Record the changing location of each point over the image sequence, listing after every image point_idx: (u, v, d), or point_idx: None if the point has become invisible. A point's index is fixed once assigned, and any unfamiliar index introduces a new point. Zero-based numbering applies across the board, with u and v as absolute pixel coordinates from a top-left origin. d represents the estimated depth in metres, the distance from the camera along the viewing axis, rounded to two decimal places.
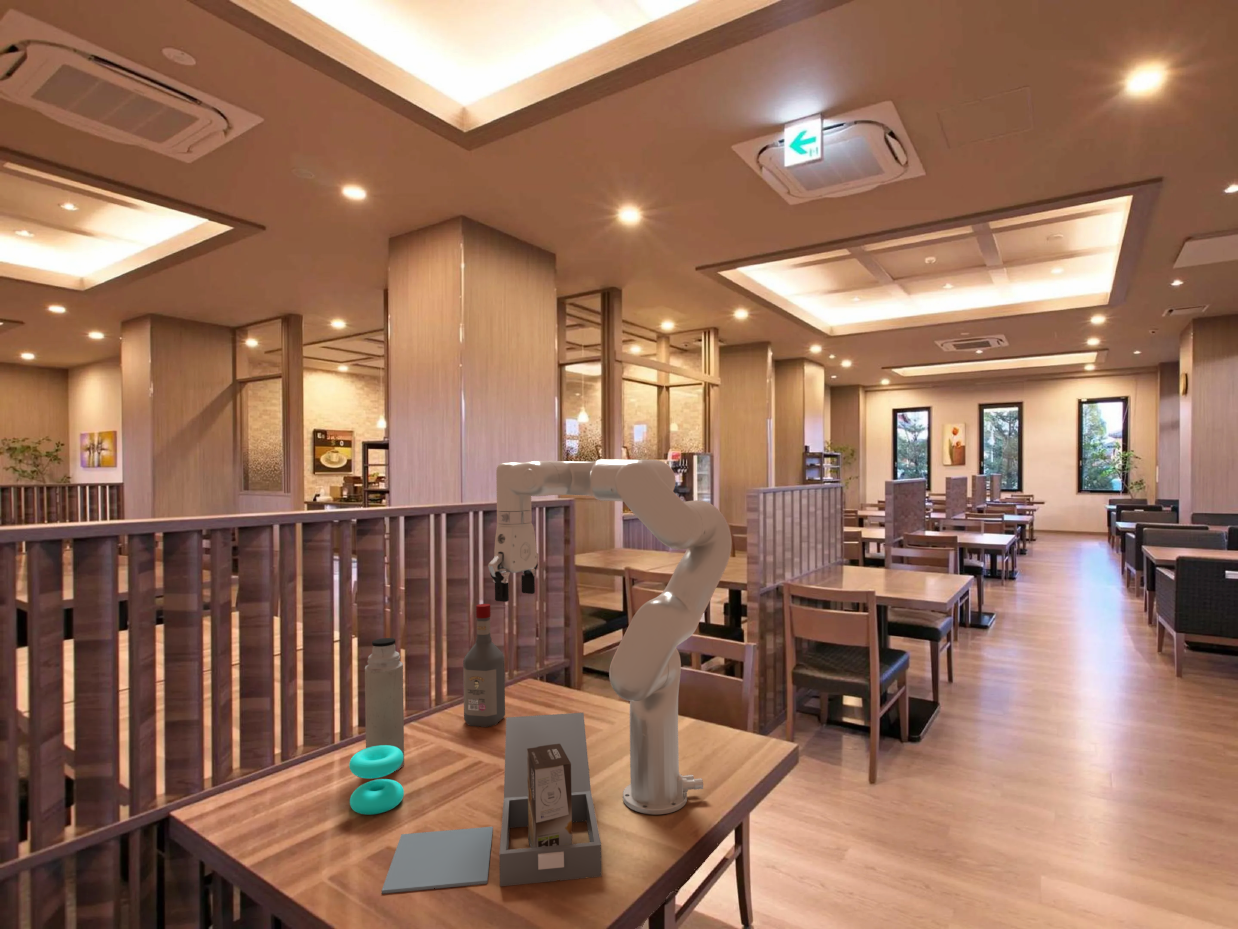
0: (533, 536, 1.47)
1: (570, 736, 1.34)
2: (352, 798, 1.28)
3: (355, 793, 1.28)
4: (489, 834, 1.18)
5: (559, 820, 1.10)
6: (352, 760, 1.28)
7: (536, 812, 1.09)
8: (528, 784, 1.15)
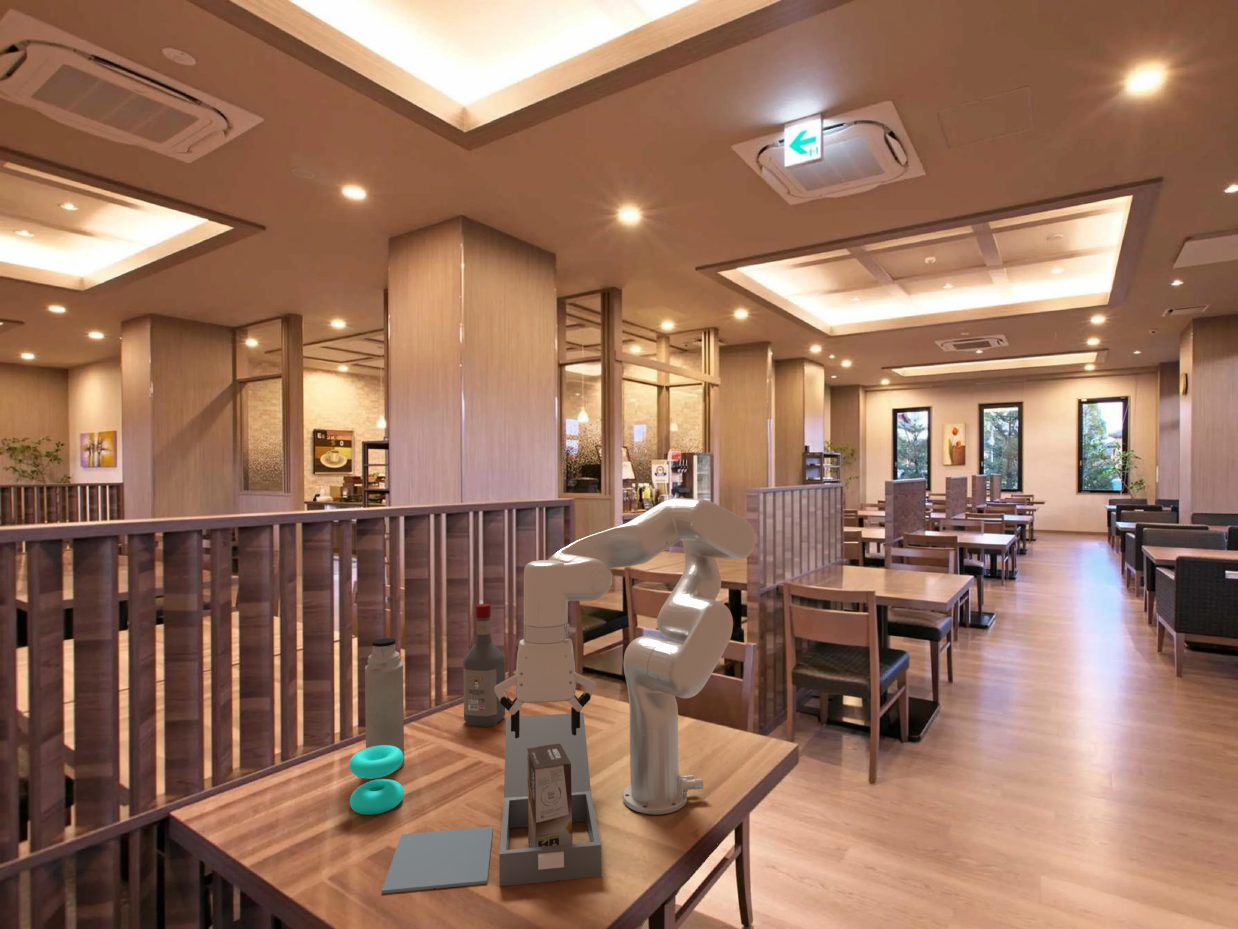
0: None
1: (570, 736, 1.34)
2: (352, 798, 1.28)
3: (355, 793, 1.28)
4: (489, 834, 1.18)
5: (559, 820, 1.10)
6: (352, 760, 1.28)
7: (536, 812, 1.09)
8: (528, 784, 1.15)
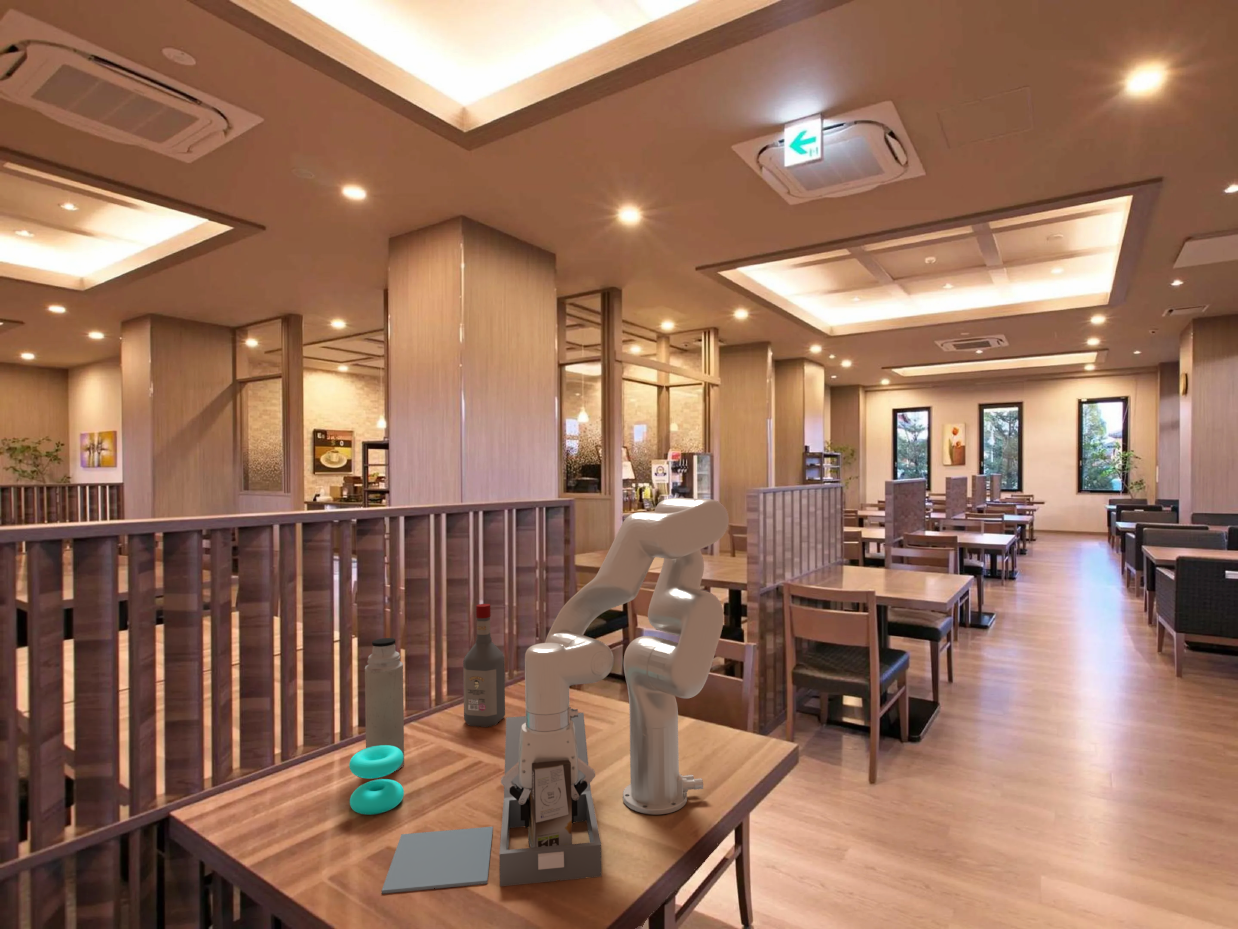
0: None
1: None
2: (352, 798, 1.28)
3: (355, 793, 1.28)
4: (489, 834, 1.18)
5: (559, 820, 1.10)
6: (352, 760, 1.28)
7: (536, 812, 1.09)
8: None
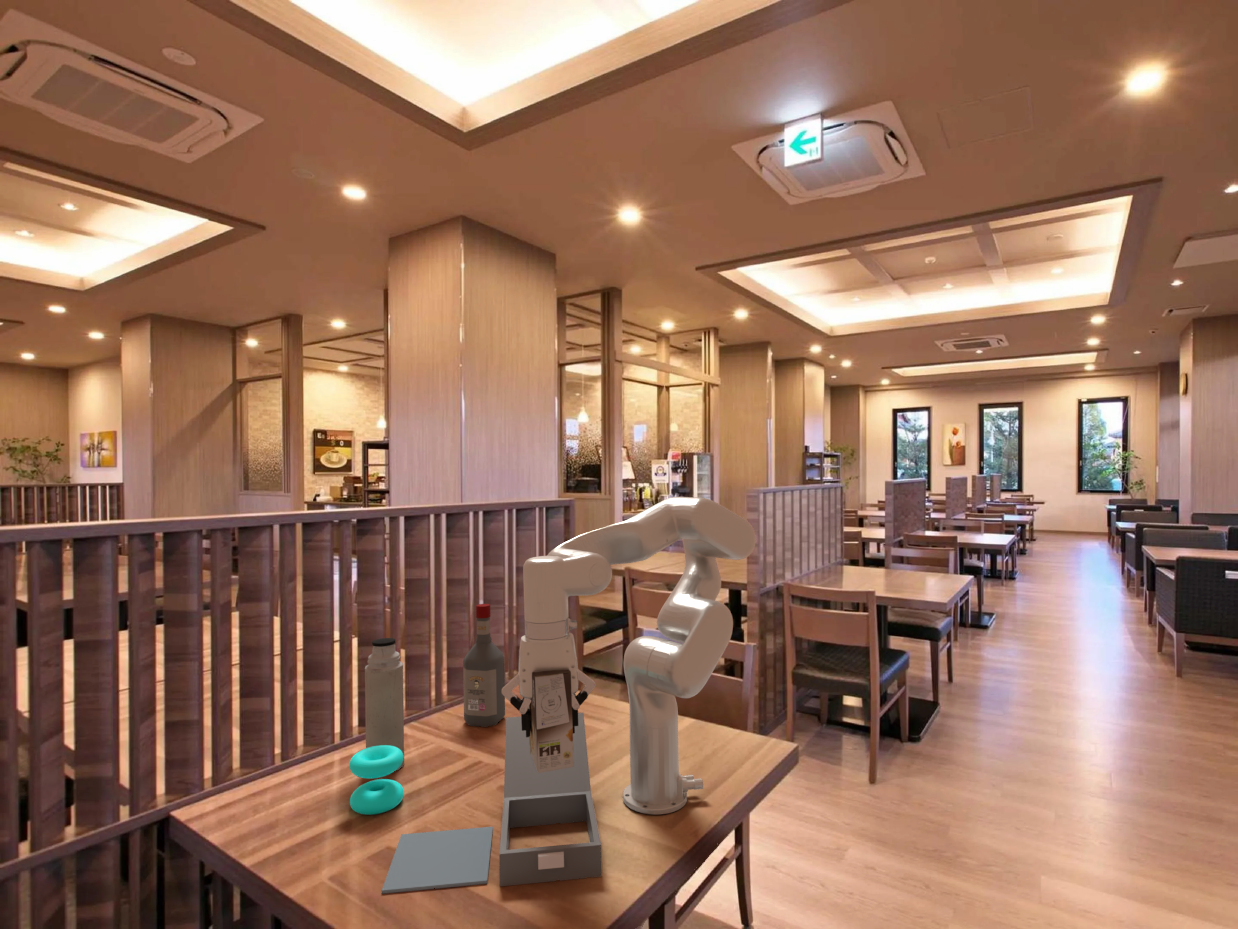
0: None
1: None
2: (352, 798, 1.28)
3: (355, 793, 1.28)
4: (489, 834, 1.18)
5: (560, 727, 1.10)
6: (352, 760, 1.28)
7: (537, 719, 1.09)
8: None
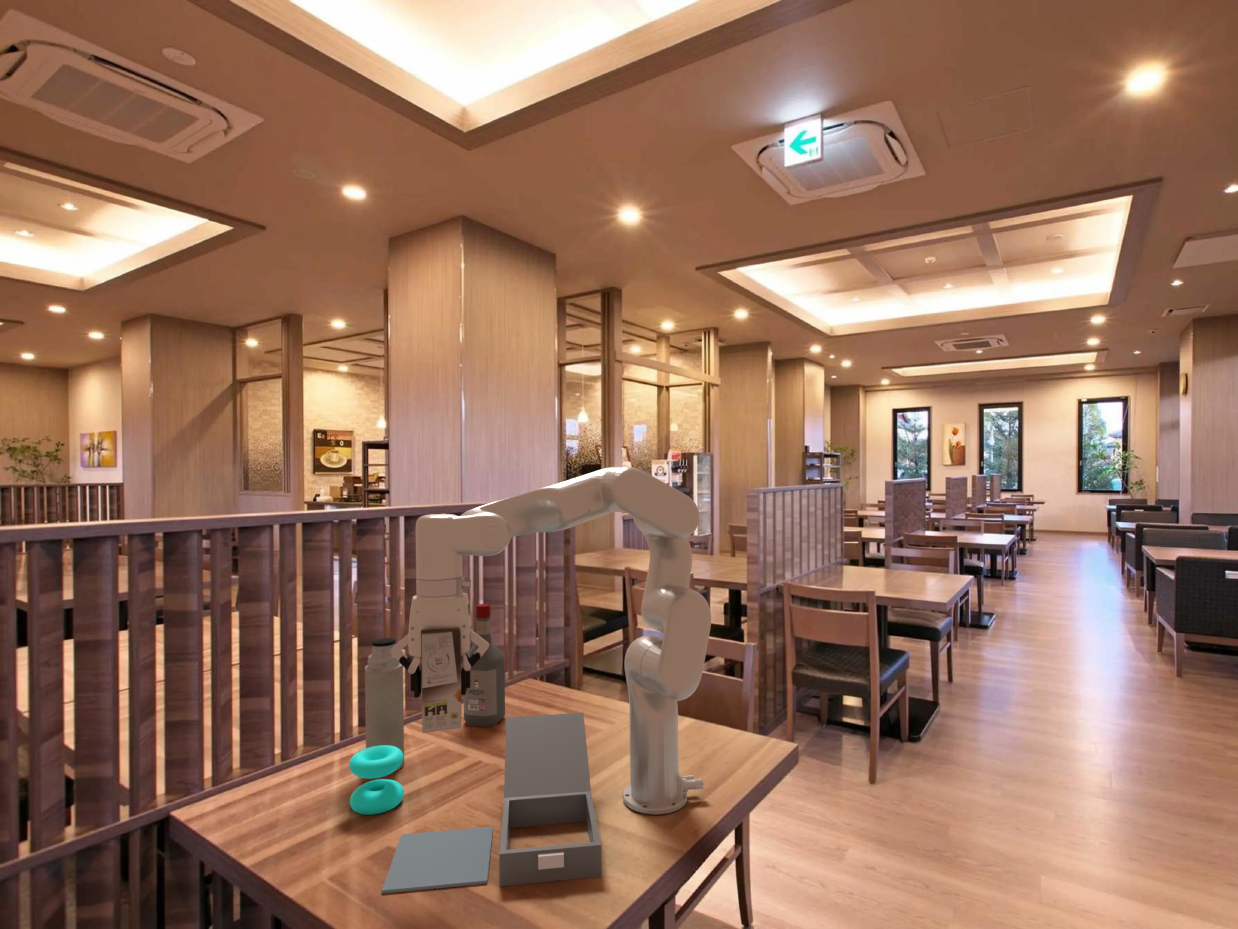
0: None
1: (570, 736, 1.34)
2: (352, 798, 1.28)
3: (355, 793, 1.28)
4: (489, 834, 1.18)
5: (448, 686, 1.08)
6: (352, 760, 1.28)
7: (422, 677, 1.07)
8: None
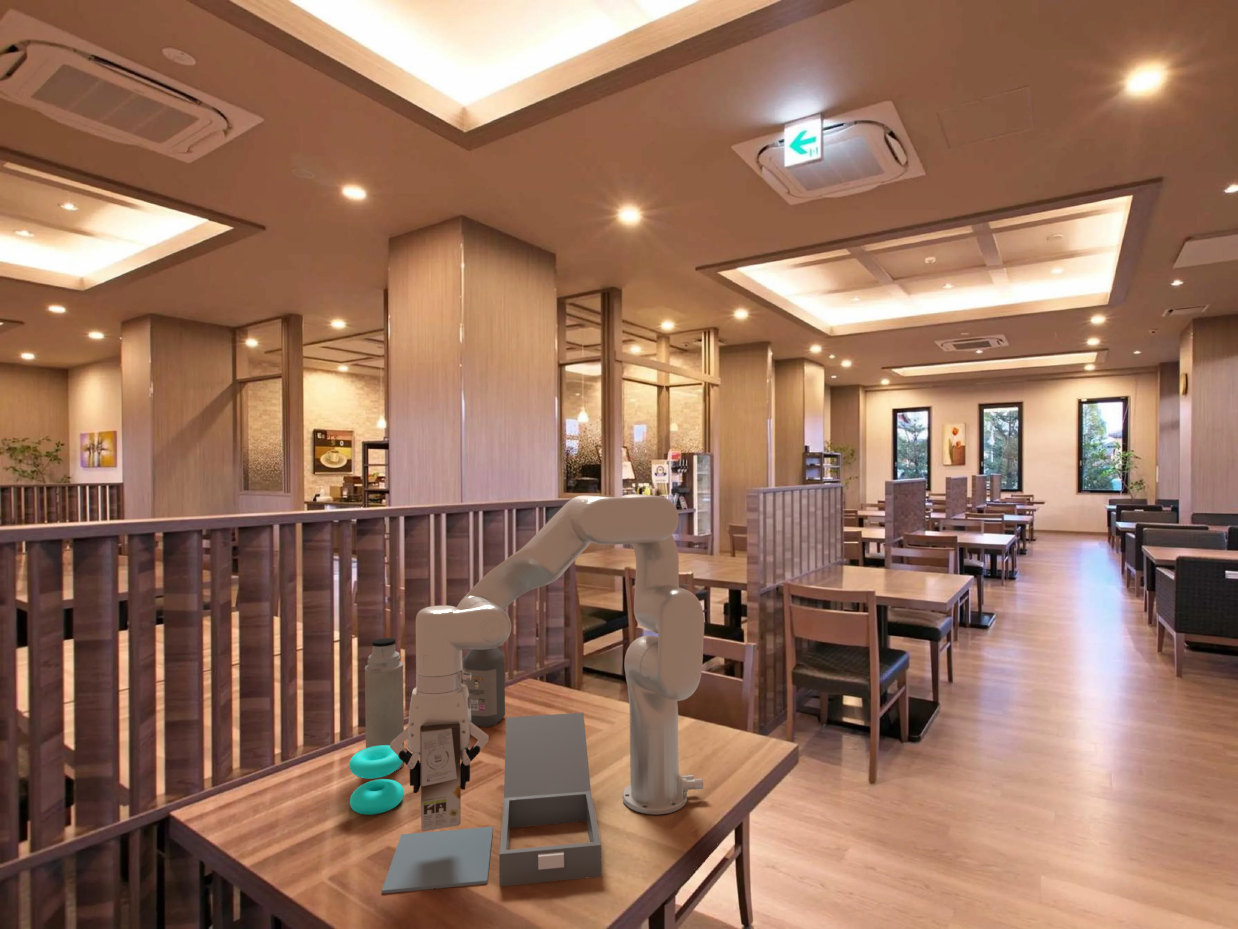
0: None
1: (570, 736, 1.34)
2: (352, 798, 1.28)
3: (355, 793, 1.28)
4: (489, 834, 1.18)
5: (447, 784, 1.08)
6: (352, 760, 1.28)
7: (422, 775, 1.06)
8: None
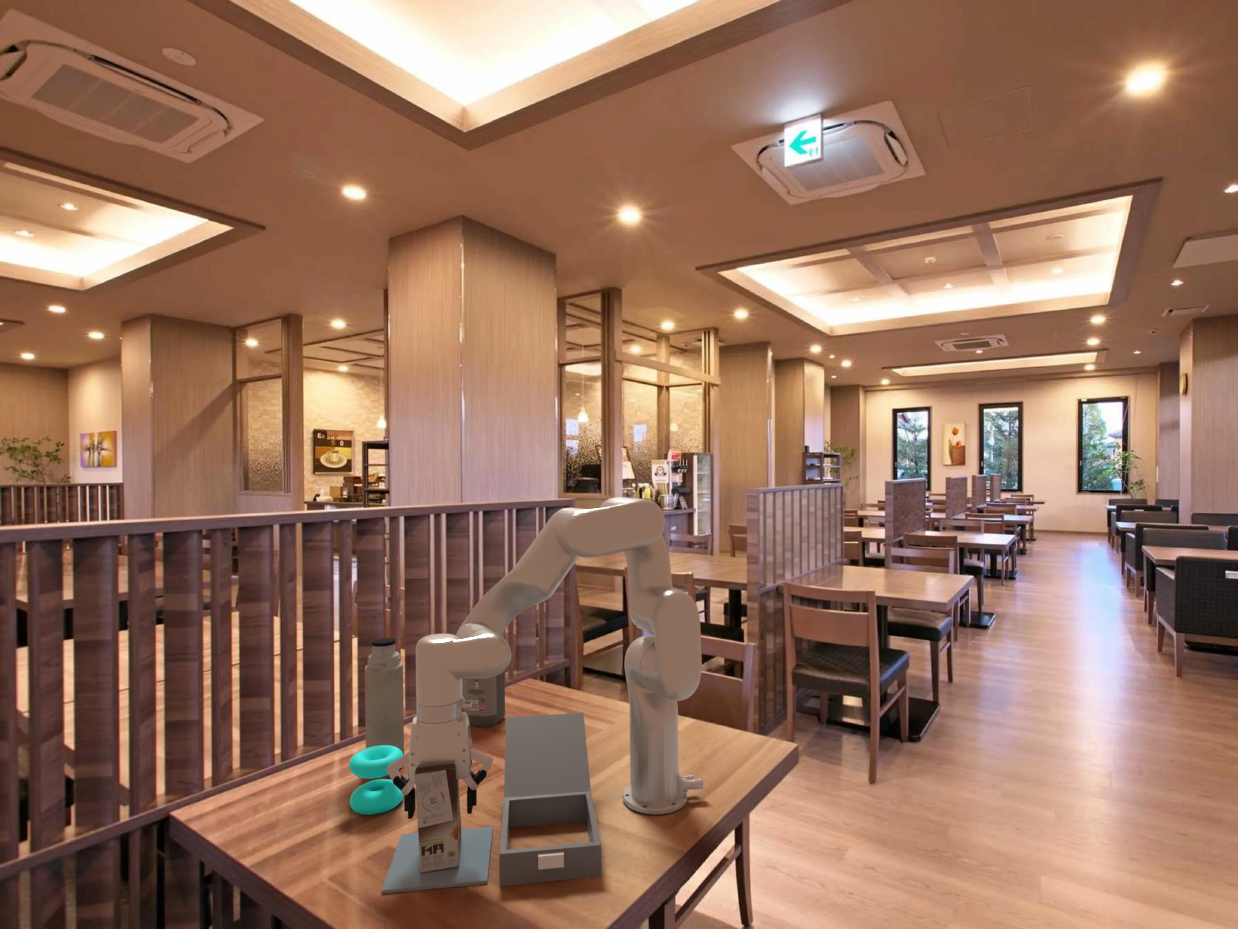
0: None
1: (570, 736, 1.34)
2: (352, 798, 1.28)
3: (355, 793, 1.28)
4: (489, 834, 1.18)
5: (443, 825, 1.07)
6: (352, 760, 1.28)
7: (418, 817, 1.07)
8: None
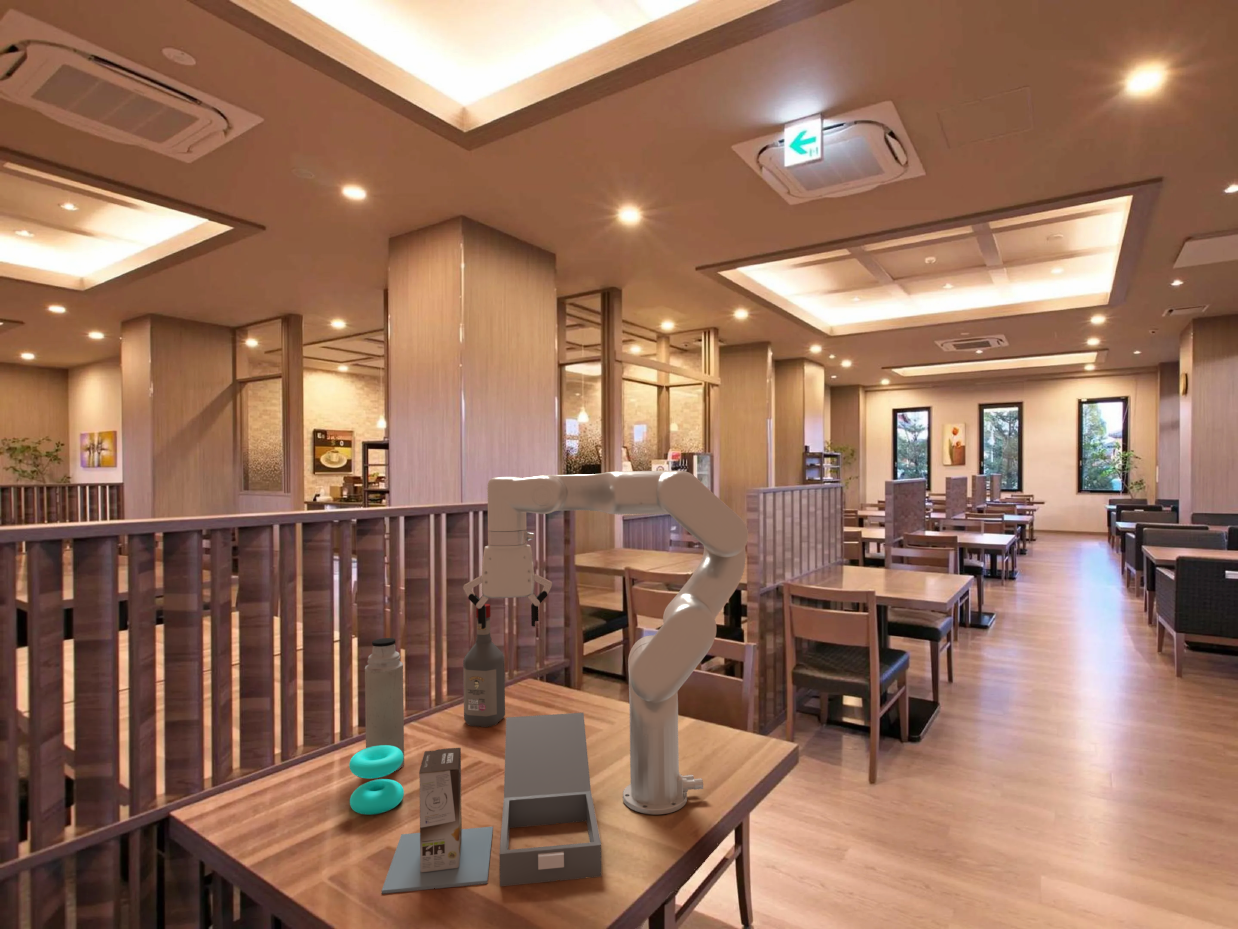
0: None
1: (570, 736, 1.34)
2: (352, 798, 1.28)
3: (355, 793, 1.28)
4: (489, 834, 1.18)
5: (445, 826, 1.08)
6: (352, 760, 1.28)
7: (420, 817, 1.07)
8: None
